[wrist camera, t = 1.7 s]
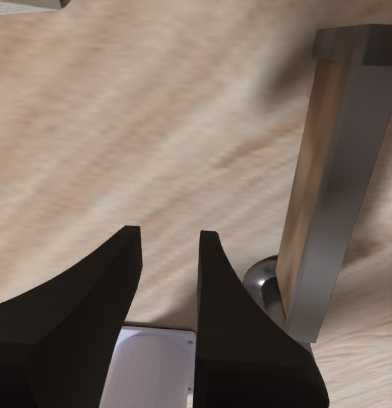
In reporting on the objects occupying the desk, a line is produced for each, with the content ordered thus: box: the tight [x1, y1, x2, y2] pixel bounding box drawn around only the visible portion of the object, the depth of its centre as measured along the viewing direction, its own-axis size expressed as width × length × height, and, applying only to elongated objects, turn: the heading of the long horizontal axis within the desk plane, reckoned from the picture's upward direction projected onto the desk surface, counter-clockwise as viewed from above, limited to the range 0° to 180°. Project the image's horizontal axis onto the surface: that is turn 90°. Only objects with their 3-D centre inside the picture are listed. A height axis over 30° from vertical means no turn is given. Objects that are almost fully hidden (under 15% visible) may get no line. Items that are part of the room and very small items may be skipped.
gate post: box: [243, 258, 315, 361], centre depth 21 cm, size 5×5×8 cm
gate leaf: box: [275, 24, 392, 343], centre depth 16 cm, size 15×2×6 cm, turn 178°
